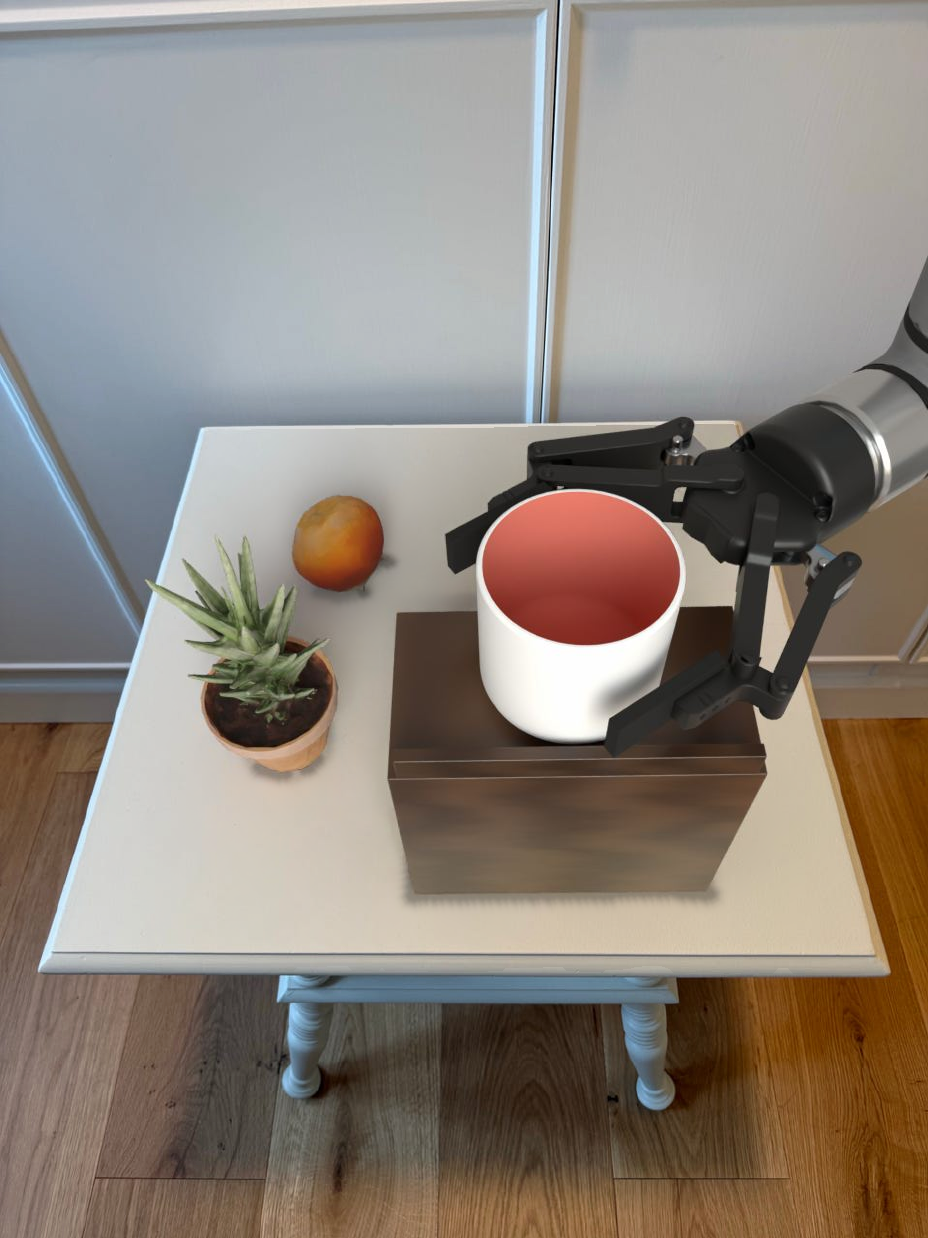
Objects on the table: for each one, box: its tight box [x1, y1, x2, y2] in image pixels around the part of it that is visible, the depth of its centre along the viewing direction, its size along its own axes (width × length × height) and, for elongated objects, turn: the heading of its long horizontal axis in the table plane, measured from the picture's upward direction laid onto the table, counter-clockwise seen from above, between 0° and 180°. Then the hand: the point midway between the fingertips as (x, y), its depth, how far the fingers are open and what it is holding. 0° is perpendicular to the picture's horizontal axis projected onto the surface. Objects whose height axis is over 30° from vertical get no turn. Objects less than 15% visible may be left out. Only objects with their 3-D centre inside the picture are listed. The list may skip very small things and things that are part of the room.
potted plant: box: [144, 533, 339, 773], centre depth 61 cm, size 10×10×25 cm
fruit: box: [291, 494, 389, 593], centre depth 78 cm, size 8×8×8 cm
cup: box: [475, 489, 687, 744], centre depth 48 cm, size 10×10×10 cm
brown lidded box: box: [386, 605, 768, 895], centre depth 58 cm, size 20×11×20 cm, turn 90°
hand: (523, 640), depth 46 cm, fingers open, 13 cm apart
